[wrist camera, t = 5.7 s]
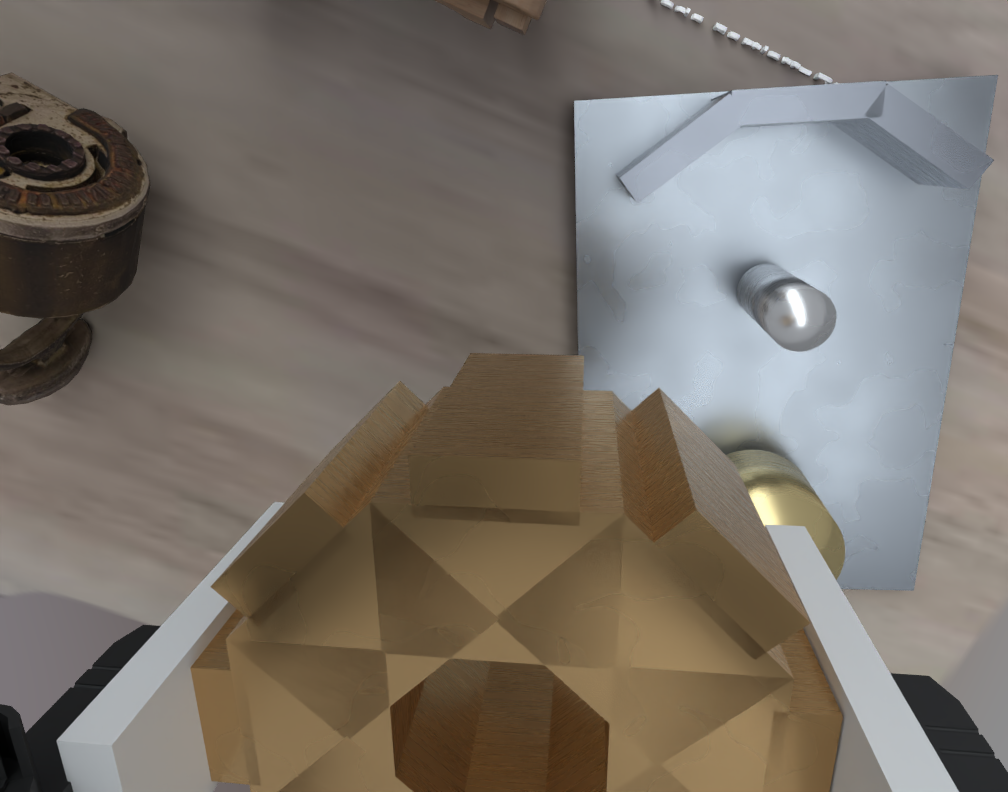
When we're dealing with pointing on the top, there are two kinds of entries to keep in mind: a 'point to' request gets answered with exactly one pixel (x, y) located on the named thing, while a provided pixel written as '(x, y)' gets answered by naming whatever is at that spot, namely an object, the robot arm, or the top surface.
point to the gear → (516, 608)
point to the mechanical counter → (61, 231)
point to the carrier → (790, 288)
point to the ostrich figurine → (518, 3)
